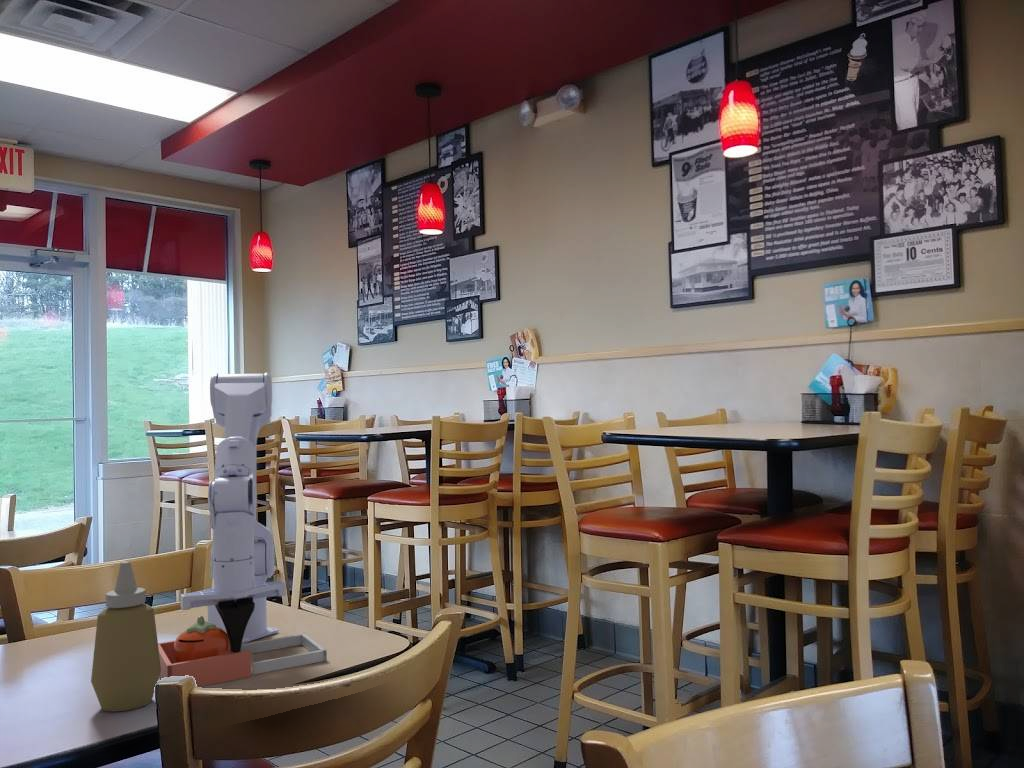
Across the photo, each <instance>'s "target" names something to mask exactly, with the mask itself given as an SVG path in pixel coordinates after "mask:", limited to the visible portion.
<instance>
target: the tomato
mask: <svg viewBox="0 0 1024 768" xmlns="http://www.w3.org/2000/svg"><path fill="white" fill-rule="evenodd" d="M227 650H228V636H227V634H226V632H225V631H223V630H222V629H221V628H219V627H216V625H215V624H213V623H210V622H208V621H206V620H205V618H204V616H203V615H199V616H198V617H197V620H196V622H194V623H191V624H189V626H188V627H187V628H186V629H185V630H184V631H182V632H181V633H179V635H177V637H176V638H175V643H174V648H173V651H174V656H175V659H176V661H177V663H180V662H186V661H191V660H197V659H203V658H208V657H214V656H220V655H226V653H227Z"/></svg>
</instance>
